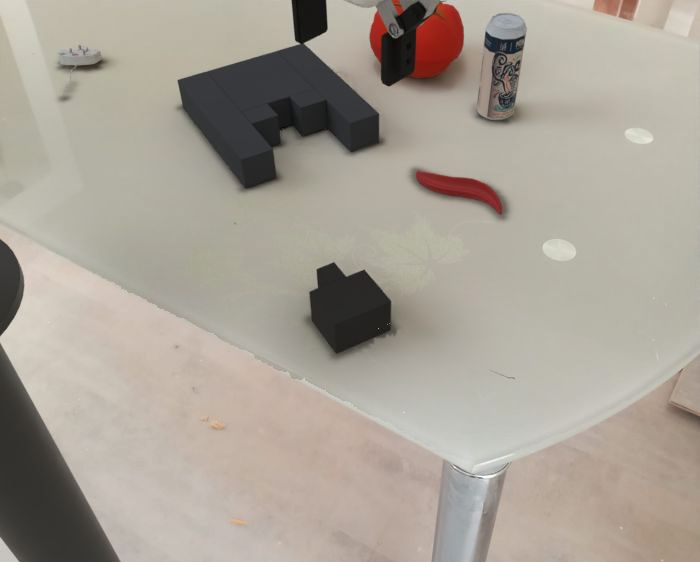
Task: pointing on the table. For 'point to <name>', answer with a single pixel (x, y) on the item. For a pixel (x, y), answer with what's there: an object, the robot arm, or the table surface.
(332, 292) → the black puzzle block
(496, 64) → the beer can
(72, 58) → the game controller
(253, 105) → the grey pad
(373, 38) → the tomato
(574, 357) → the table surface
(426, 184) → the cayenne pepper
